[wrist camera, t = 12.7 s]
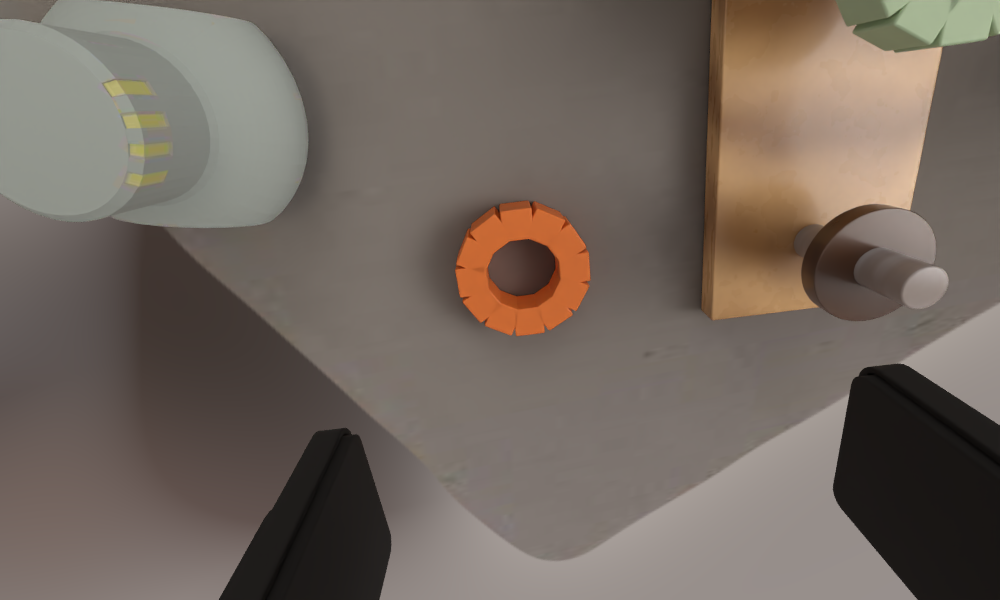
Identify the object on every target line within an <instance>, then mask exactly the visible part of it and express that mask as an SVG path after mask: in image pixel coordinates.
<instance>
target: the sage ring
mask: <svg viewBox="0 0 1000 600" xmlns="http://www.w3.org/2000/svg"><path fill="white" fill-rule="evenodd" d="M836 3H837V5H838V8H839V10H840V12H841V15H842V17H843V20H844V22H845V24H846V26H848V27H849V26H853V25H856V27H855V28H854V30H853V34H855V35H856V36H858V37H860V38H862V39H864V40H866V41H867V42H869V43H871V44H873V45H875V46H877V47H878V48H880V49H882V50H884V51H890V50H894V52H895V53H899V52H906V51H914V50H921V49H928V48H936V47H943V46H950V45H957V44H964V43H971V42H978V41H984V40H986V39H987V38H988V37H989V36H995V35H998V34H1000V0H836Z"/></svg>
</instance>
